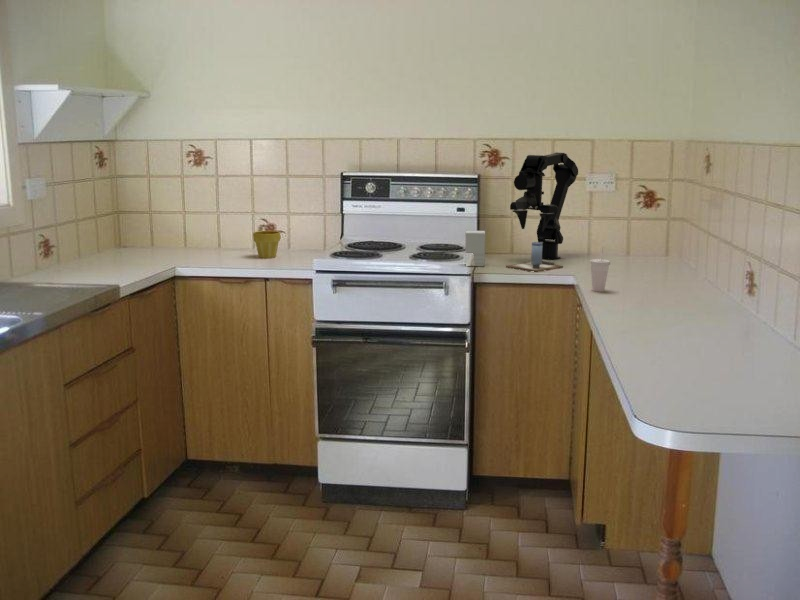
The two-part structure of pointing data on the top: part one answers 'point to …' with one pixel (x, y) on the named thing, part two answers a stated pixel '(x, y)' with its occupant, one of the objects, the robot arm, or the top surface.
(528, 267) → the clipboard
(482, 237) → the supplement box
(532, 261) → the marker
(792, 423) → the top surface
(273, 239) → the plant pot
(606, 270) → the smoothie
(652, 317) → the top surface
